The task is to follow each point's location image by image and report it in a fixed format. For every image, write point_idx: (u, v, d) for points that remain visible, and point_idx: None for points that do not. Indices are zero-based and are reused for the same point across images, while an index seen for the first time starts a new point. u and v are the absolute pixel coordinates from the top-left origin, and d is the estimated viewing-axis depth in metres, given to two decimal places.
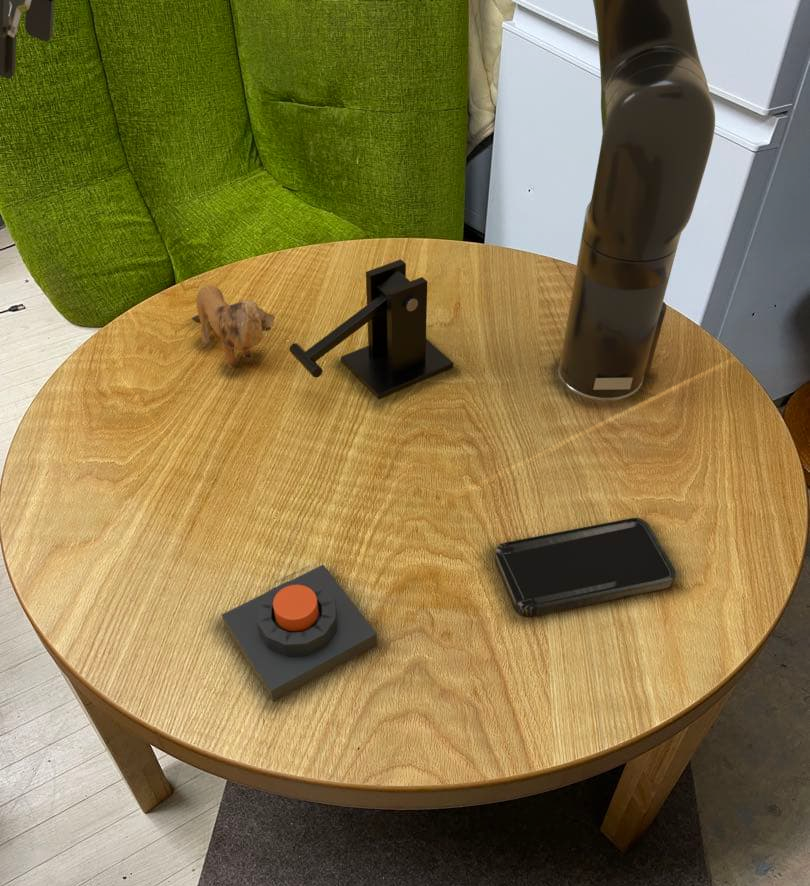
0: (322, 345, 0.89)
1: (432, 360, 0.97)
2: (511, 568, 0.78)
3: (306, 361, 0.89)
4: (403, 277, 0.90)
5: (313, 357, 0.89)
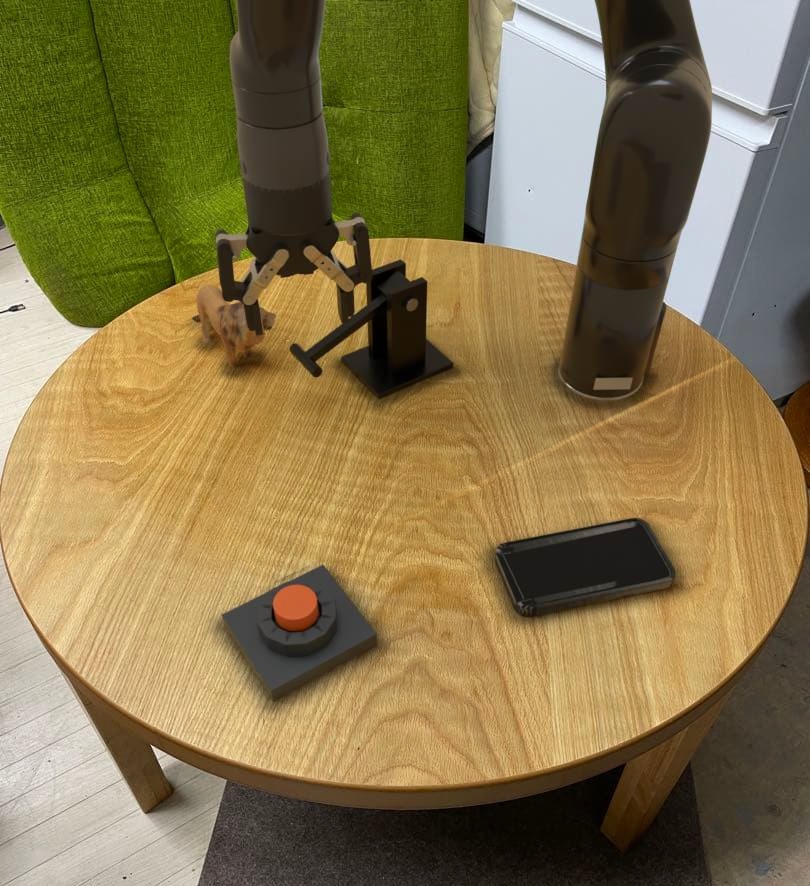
0: (322, 345, 0.89)
1: (432, 360, 0.97)
2: (511, 568, 0.78)
3: (306, 361, 0.89)
4: (403, 277, 0.90)
5: (313, 357, 0.89)
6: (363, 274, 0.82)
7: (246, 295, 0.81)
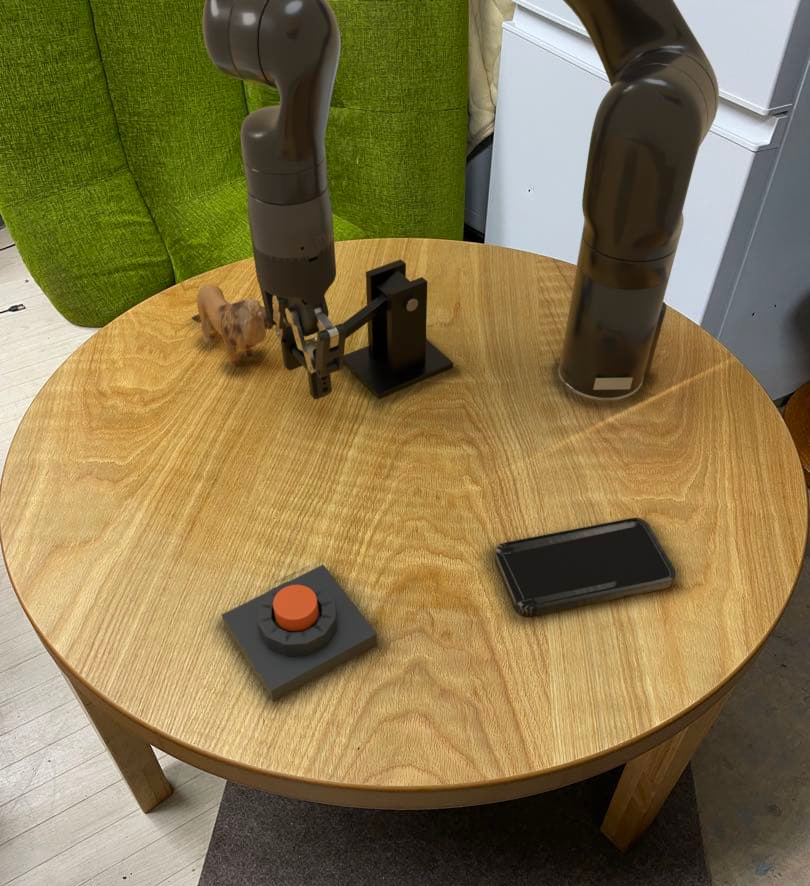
0: None
1: (432, 360, 0.97)
2: (511, 568, 0.78)
3: None
4: (403, 277, 0.90)
5: None
6: None
7: None
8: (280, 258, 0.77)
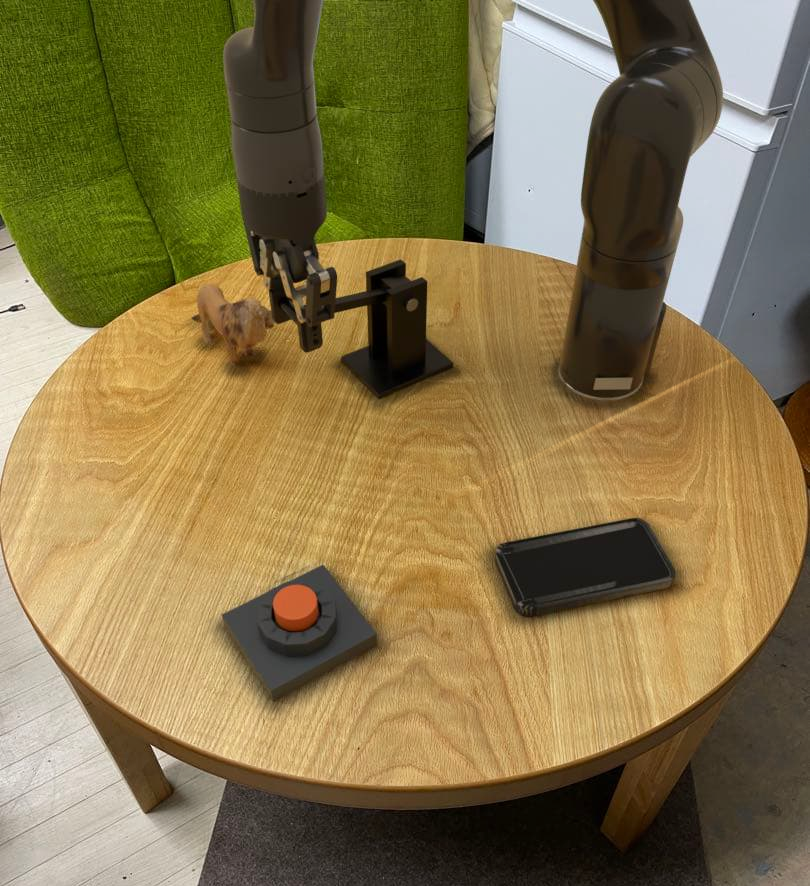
0: None
1: (432, 360, 0.97)
2: (511, 568, 0.78)
3: None
4: (408, 280, 0.90)
5: None
6: None
7: (323, 306, 0.82)
8: (266, 193, 0.72)
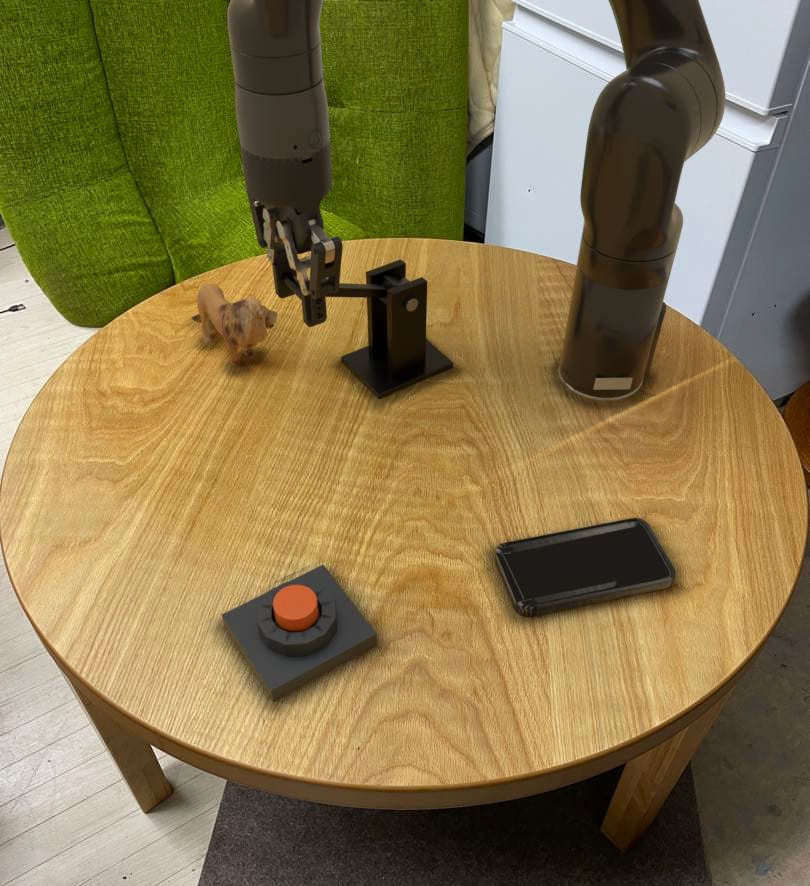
0: None
1: (432, 360, 0.97)
2: (511, 568, 0.78)
3: None
4: None
5: None
6: None
7: (327, 279, 0.80)
8: (271, 159, 0.70)
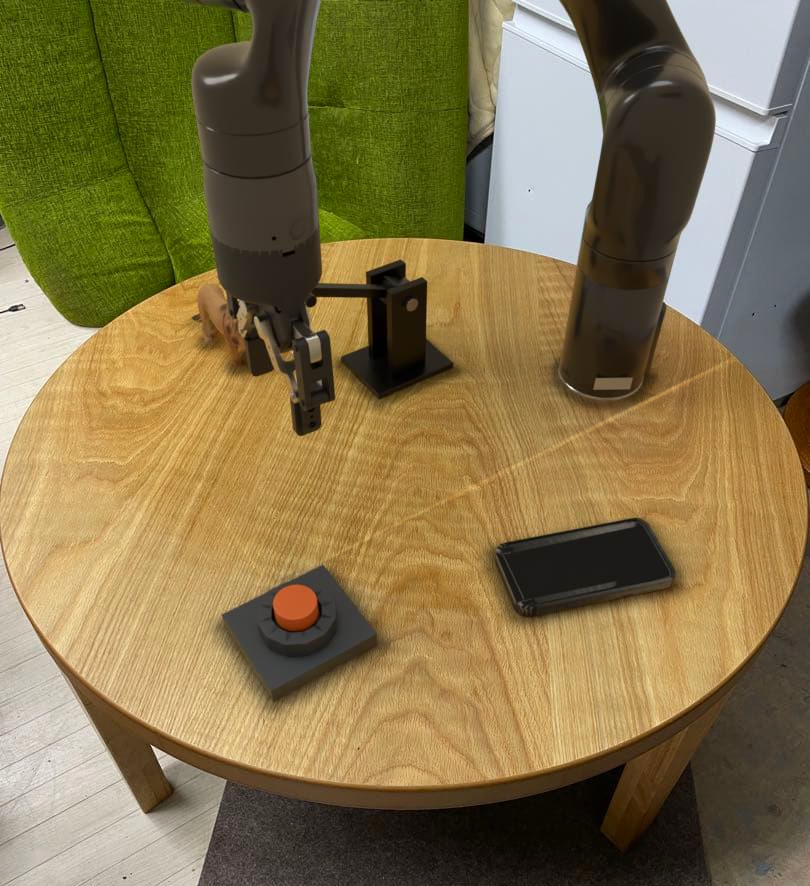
0: (321, 286, 0.84)
1: (432, 360, 0.97)
2: (511, 568, 0.78)
3: None
4: None
5: None
6: None
7: (321, 382, 0.66)
8: (244, 251, 0.57)
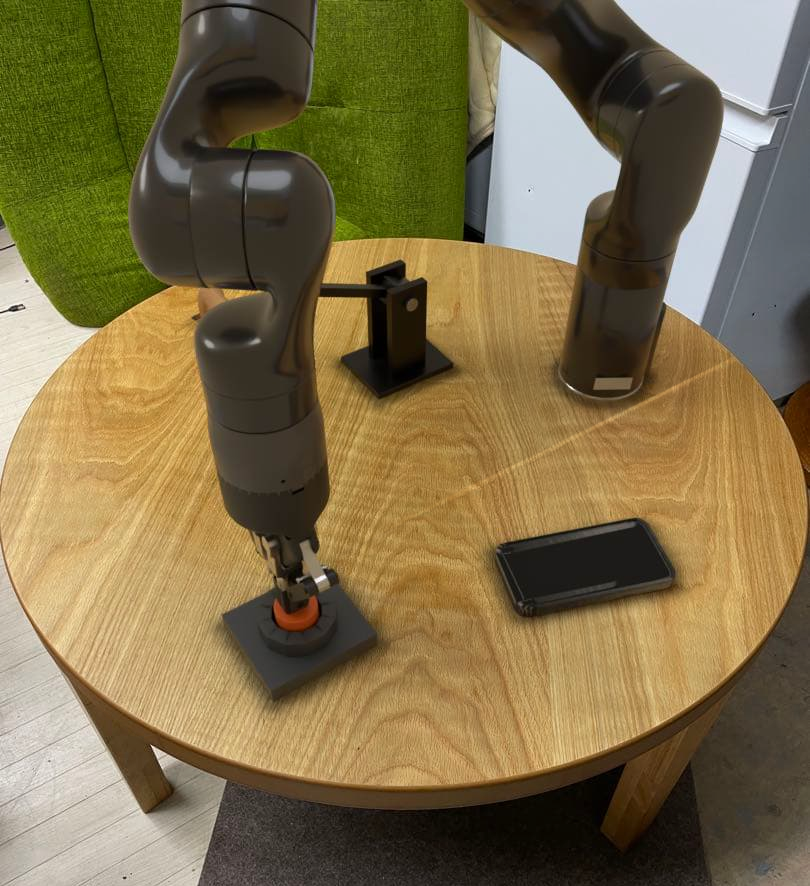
0: (321, 286, 0.84)
1: (432, 360, 0.97)
2: (511, 568, 0.78)
3: None
4: None
5: None
6: None
7: None
8: (252, 492, 0.56)
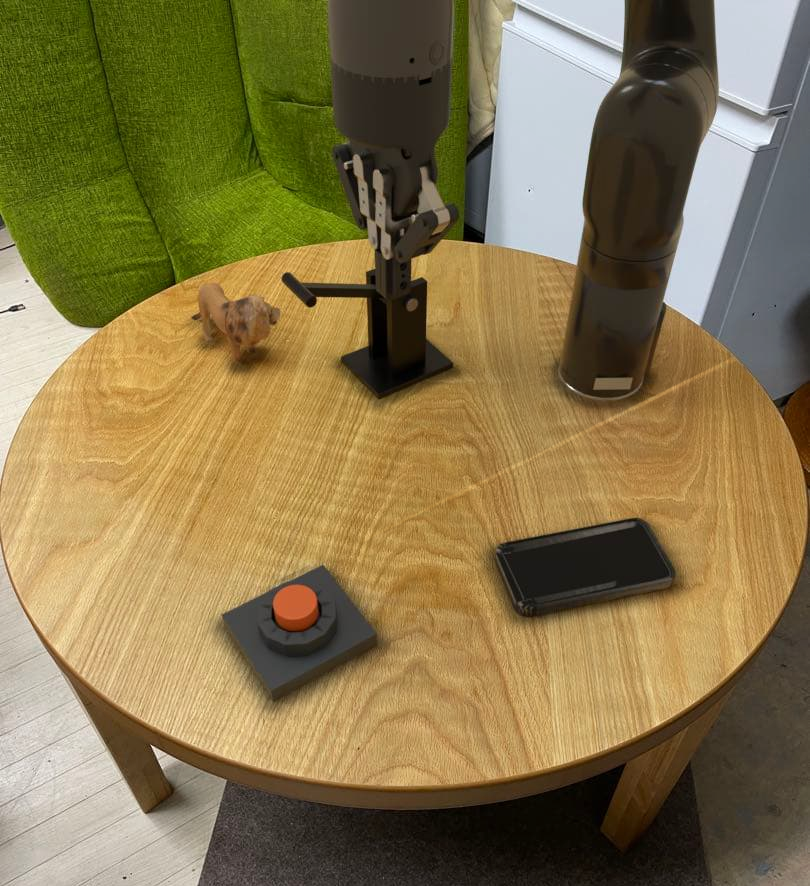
0: (321, 286, 0.84)
1: (432, 360, 0.97)
2: (511, 568, 0.78)
3: (302, 287, 0.83)
4: None
5: (308, 290, 0.84)
6: None
7: None
8: (377, 78, 0.51)
